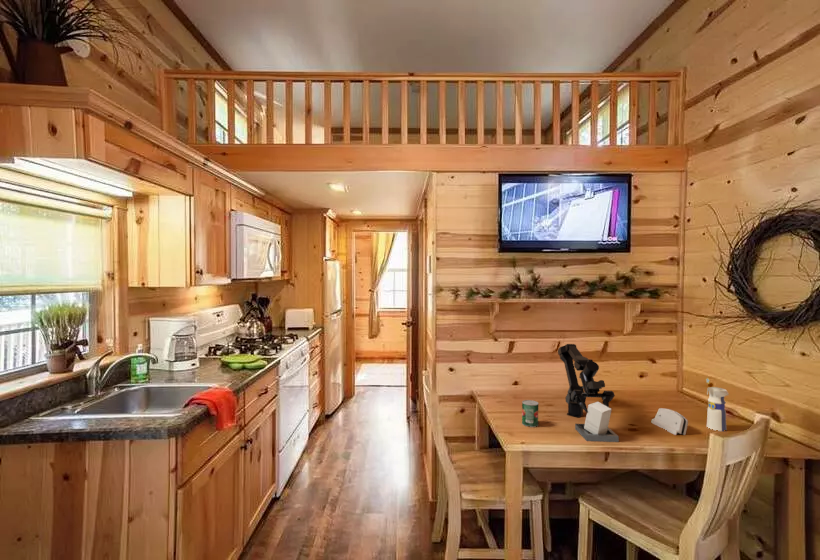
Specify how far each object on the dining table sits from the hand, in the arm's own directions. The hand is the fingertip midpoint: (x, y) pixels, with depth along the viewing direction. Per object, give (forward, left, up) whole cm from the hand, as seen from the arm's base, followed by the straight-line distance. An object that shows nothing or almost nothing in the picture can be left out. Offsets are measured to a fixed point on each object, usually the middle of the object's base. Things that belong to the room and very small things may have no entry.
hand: (597, 412), depth 179 cm
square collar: (-1, +1, -11) cm, 11 cm away
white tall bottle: (+37, +53, -11) cm, 66 cm away
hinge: (+21, +36, -11) cm, 44 cm away
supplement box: (-1, +1, -9) cm, 9 cm away
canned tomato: (-29, -9, -11) cm, 32 cm away
